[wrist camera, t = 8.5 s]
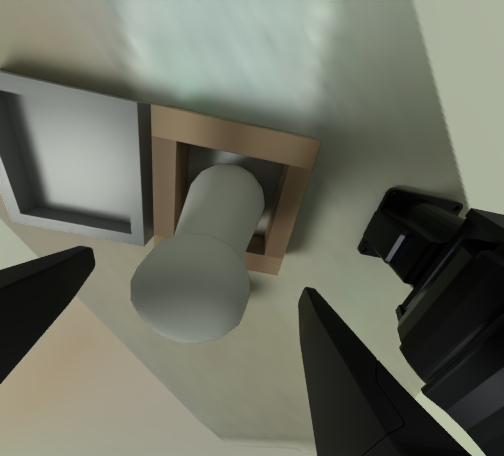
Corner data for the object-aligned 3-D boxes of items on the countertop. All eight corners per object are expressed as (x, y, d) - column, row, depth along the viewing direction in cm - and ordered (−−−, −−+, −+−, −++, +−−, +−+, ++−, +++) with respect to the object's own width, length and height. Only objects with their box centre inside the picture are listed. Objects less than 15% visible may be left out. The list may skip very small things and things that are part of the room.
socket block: (311, 137, 16) (321, 141, 14) (275, 255, 22) (277, 275, 19) (169, 105, 16) (150, 104, 13) (167, 235, 21) (154, 252, 18)
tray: (154, 104, 16) (136, 102, 13) (156, 232, 21) (144, 246, 19) (-4, 69, 15) (-49, 61, 13) (39, 210, 20) (11, 222, 18)
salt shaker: (234, 233, 21) (201, 383, 9) (184, 194, 19) (66, 318, 7) (278, 189, 18) (306, 316, 7) (226, 141, 17) (149, 202, 5)
